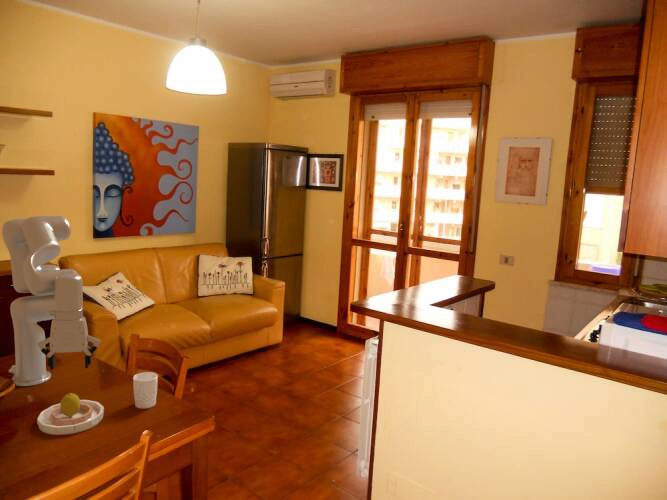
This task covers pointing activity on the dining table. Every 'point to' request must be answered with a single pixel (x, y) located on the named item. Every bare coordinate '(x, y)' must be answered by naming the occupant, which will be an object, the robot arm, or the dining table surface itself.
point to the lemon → (70, 404)
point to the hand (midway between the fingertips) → (70, 367)
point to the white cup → (145, 389)
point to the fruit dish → (70, 418)
